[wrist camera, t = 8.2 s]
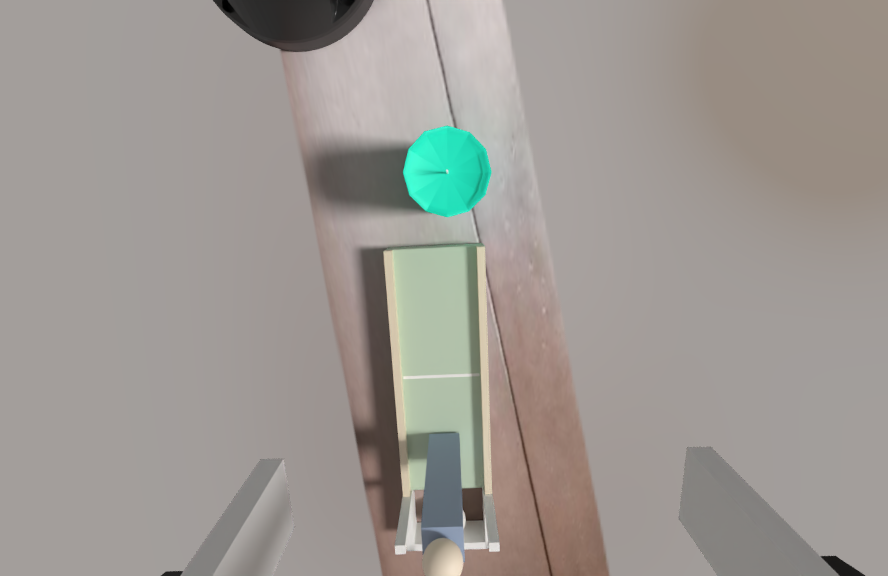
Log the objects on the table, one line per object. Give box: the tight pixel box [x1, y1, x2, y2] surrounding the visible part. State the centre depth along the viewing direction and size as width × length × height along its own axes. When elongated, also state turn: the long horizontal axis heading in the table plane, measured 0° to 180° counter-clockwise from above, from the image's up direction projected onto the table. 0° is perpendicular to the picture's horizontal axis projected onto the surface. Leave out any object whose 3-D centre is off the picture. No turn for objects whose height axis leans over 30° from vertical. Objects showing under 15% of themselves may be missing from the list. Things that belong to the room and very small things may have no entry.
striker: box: [421, 433, 465, 576], centre depth 34 cm, size 3×3×15 cm
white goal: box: [395, 488, 500, 554], centre depth 41 cm, size 6×9×9 cm
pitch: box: [383, 243, 492, 497], centre depth 40 cm, size 25×9×3 cm, turn 3°
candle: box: [403, 126, 491, 217], centre depth 32 cm, size 6×6×12 cm
